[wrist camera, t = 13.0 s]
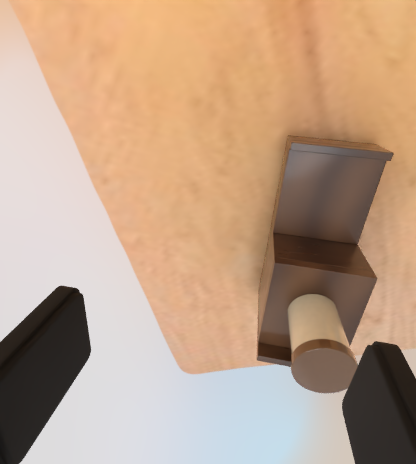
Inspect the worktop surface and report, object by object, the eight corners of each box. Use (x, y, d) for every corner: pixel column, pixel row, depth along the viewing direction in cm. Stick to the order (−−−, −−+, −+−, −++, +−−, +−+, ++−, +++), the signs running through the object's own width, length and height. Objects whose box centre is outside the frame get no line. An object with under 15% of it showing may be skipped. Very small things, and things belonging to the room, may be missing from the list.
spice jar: (345, 297, 30) (368, 355, 24) (331, 336, 33) (348, 399, 26) (291, 288, 31) (298, 342, 24) (281, 327, 33) (285, 386, 27)
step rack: (376, 144, 34) (435, 173, 22) (325, 302, 44) (347, 378, 32) (288, 135, 35) (299, 158, 23) (258, 291, 45) (256, 360, 34)
